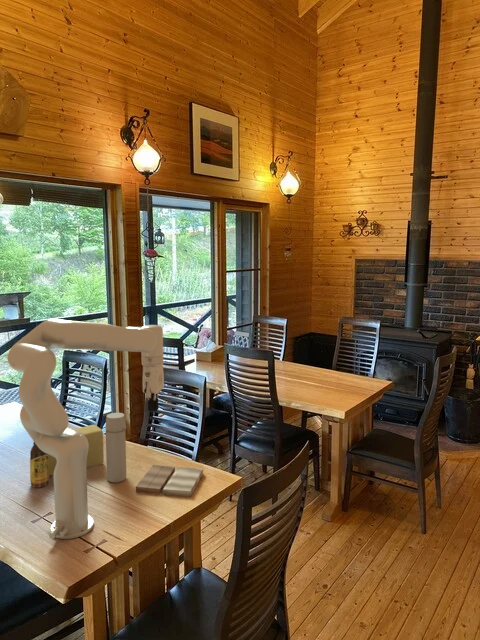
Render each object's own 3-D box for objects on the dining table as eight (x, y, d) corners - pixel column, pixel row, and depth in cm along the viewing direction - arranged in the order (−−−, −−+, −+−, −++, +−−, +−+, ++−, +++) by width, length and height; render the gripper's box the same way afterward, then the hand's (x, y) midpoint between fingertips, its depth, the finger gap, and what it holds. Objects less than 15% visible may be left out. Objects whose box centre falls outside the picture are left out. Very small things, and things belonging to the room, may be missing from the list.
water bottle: (122, 484, 176) (120, 419, 173) (102, 482, 178) (100, 417, 174) (132, 473, 185) (131, 411, 182) (113, 471, 186) (112, 410, 183)
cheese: (49, 480, 179) (47, 442, 177) (40, 471, 186) (38, 435, 184) (105, 464, 193) (103, 429, 191) (95, 457, 200) (94, 422, 198)
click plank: (190, 496, 167) (190, 491, 167) (163, 494, 169) (163, 489, 169) (203, 473, 185) (202, 468, 185) (178, 471, 187) (178, 467, 186)
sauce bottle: (35, 490, 171) (32, 437, 169) (27, 484, 175) (24, 433, 173) (52, 484, 176) (50, 432, 173) (44, 478, 180) (42, 428, 178)
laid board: (159, 494, 169) (159, 488, 169) (135, 491, 171) (135, 486, 170) (174, 471, 187) (174, 466, 187) (153, 469, 188) (152, 464, 188)
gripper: (155, 365, 160) (156, 417, 163) (169, 356, 175) (169, 404, 177) (134, 364, 162) (135, 416, 164) (149, 355, 176) (150, 403, 179)
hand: (153, 410), depth 171 cm, fingers closed
